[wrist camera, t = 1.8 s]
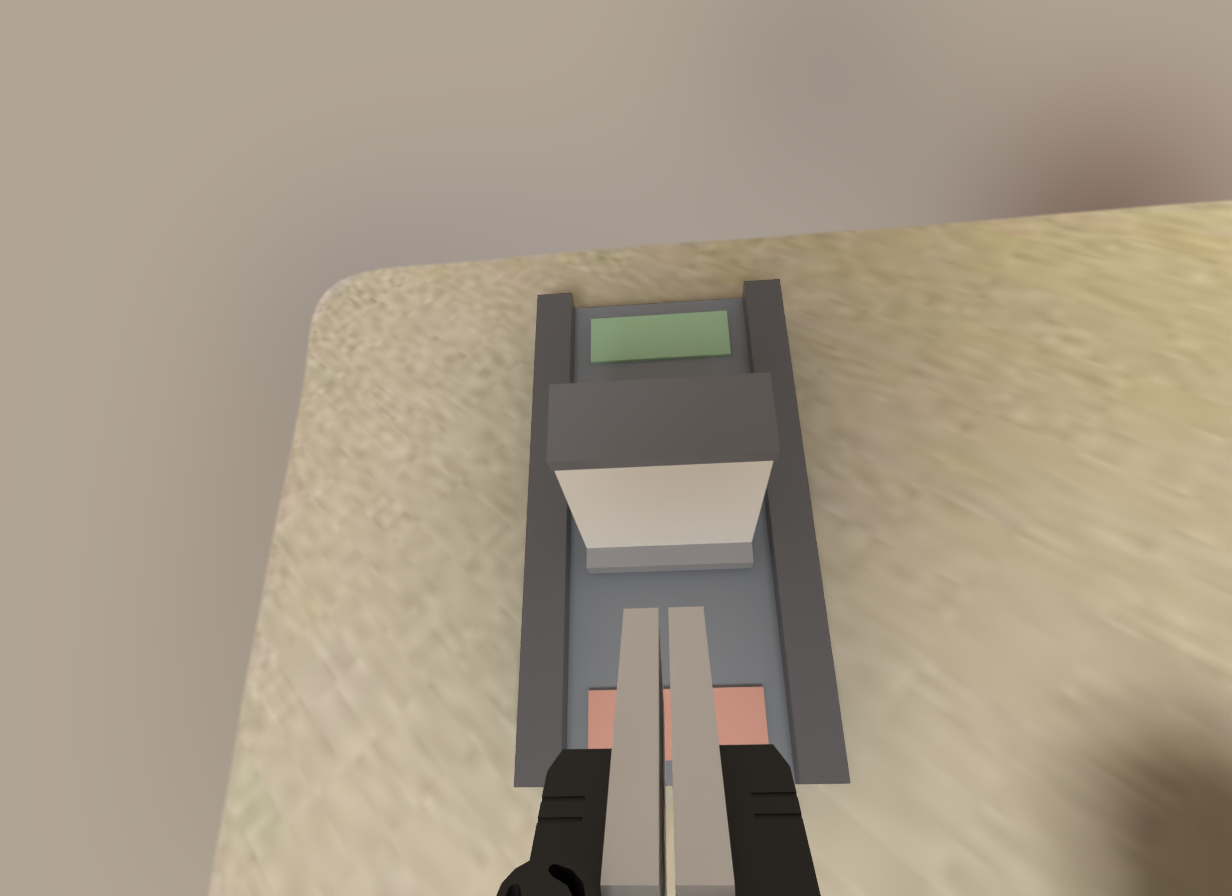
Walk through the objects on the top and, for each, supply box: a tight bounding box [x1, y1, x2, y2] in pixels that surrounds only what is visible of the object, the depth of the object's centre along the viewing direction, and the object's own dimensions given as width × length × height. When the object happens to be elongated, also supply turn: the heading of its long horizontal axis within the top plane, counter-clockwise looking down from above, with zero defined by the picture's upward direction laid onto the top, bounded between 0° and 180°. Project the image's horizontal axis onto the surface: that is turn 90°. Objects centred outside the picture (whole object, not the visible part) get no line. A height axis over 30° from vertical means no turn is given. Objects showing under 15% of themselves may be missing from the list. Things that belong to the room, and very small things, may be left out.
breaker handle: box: [547, 372, 780, 574], centre depth 30 cm, size 5×8×11 cm, turn 91°
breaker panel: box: [514, 279, 850, 787], centre depth 36 cm, size 26×14×4 cm, turn 1°
